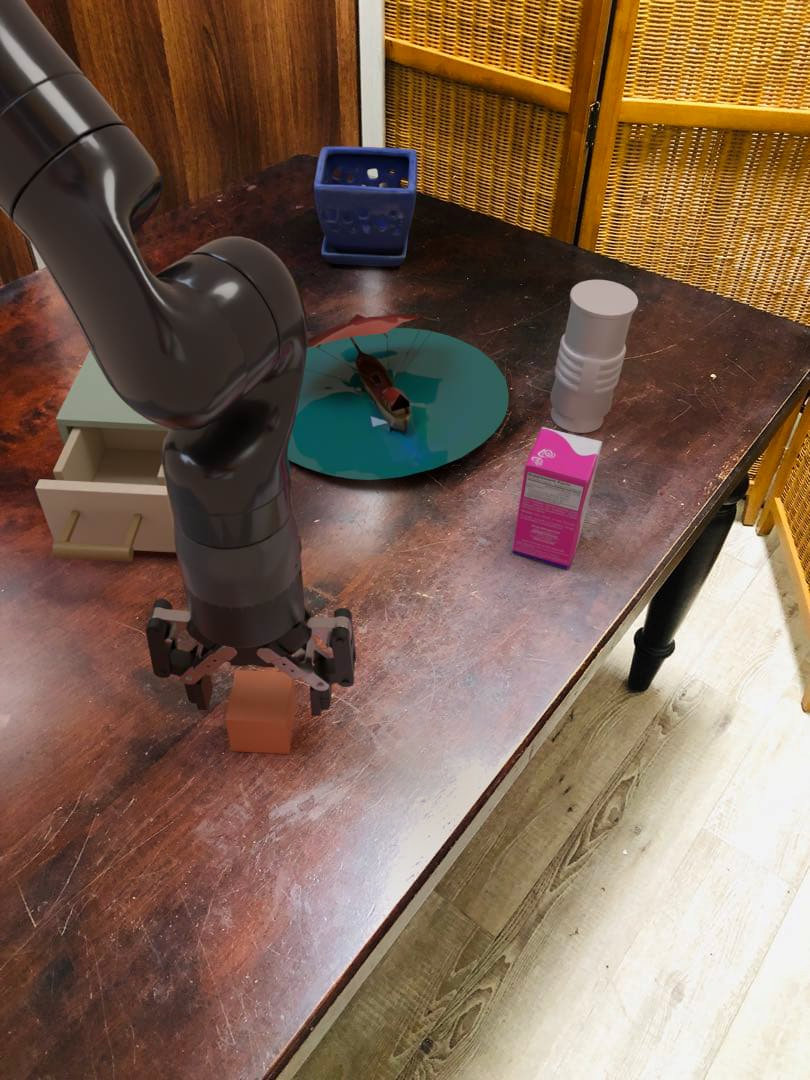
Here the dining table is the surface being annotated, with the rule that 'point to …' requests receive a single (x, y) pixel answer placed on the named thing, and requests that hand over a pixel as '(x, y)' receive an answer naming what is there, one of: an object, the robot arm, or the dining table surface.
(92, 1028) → the dining table surface
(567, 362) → the grey ribbed bottle
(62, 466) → the drawer
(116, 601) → the dining table surface
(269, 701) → the block
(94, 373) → the cabinet
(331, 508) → the dining table surface
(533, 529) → the supplement box
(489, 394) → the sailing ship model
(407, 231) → the flower pot
